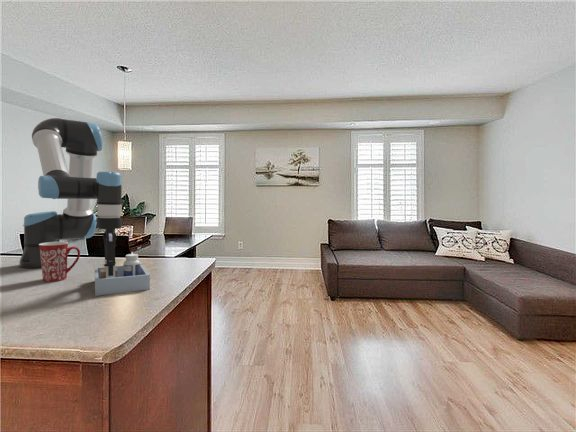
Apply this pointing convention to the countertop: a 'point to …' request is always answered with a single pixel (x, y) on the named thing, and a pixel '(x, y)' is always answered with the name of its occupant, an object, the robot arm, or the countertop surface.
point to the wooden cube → (103, 273)
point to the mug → (55, 260)
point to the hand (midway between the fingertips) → (109, 281)
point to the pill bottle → (131, 265)
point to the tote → (121, 282)
